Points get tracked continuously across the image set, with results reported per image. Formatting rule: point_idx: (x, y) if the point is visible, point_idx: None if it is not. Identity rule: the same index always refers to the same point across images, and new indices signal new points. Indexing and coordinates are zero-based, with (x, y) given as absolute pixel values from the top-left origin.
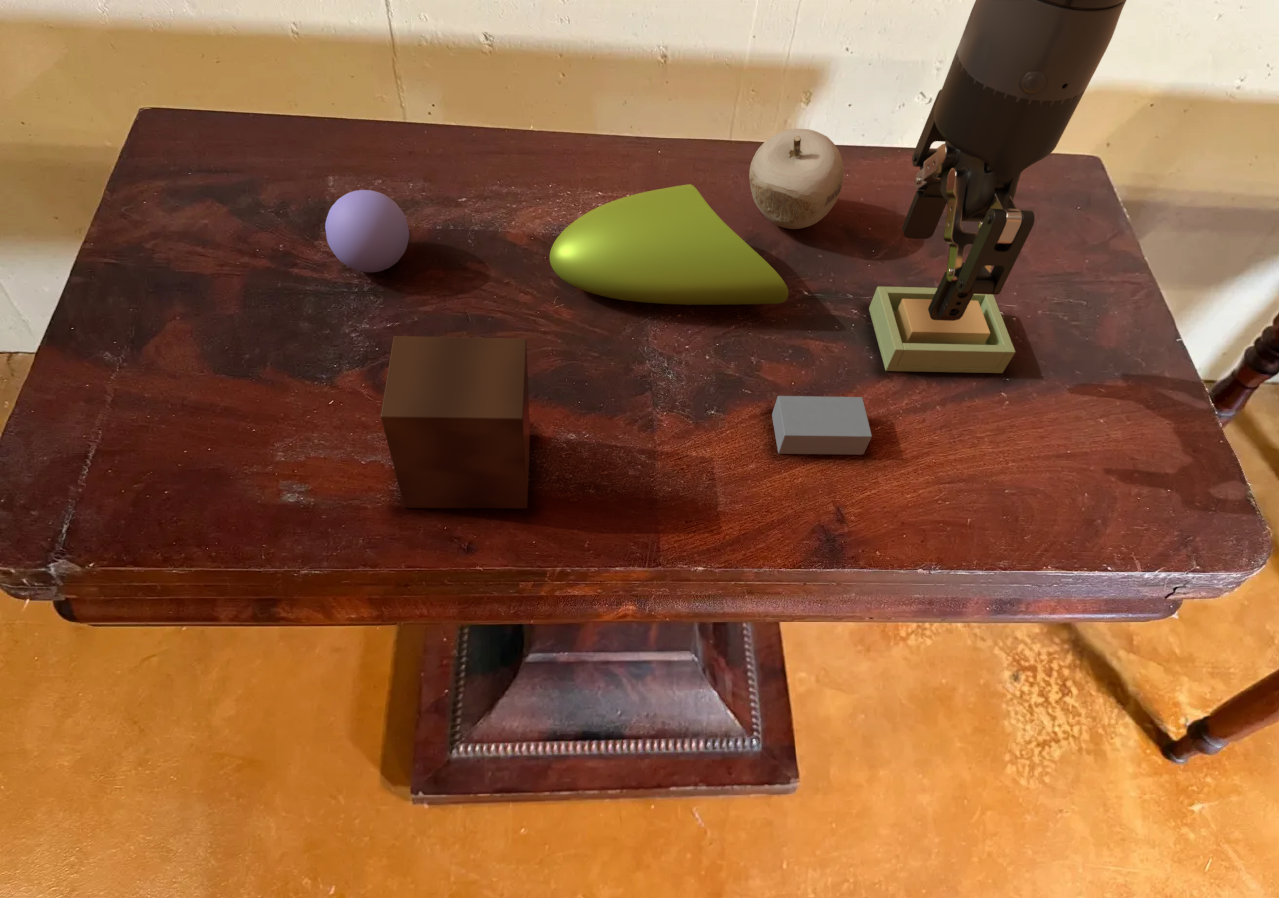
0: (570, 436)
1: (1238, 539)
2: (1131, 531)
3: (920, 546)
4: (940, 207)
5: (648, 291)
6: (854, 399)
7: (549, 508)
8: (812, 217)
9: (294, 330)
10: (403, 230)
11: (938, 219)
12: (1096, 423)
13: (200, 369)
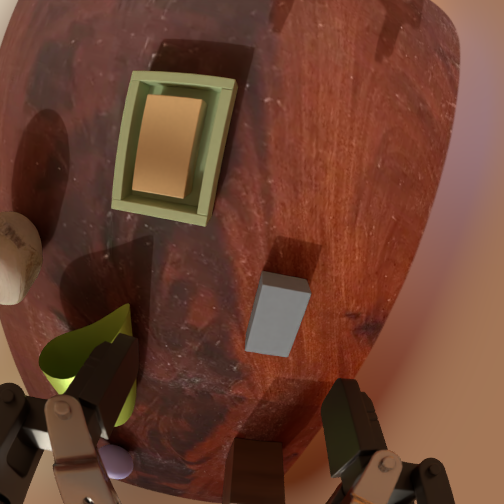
0: (239, 426)
1: (442, 20)
2: (432, 86)
3: (397, 267)
4: (109, 392)
5: (134, 396)
6: (263, 292)
7: (284, 436)
8: (35, 248)
9: (164, 470)
10: (114, 460)
11: (119, 364)
12: (323, 31)
13: (186, 484)
